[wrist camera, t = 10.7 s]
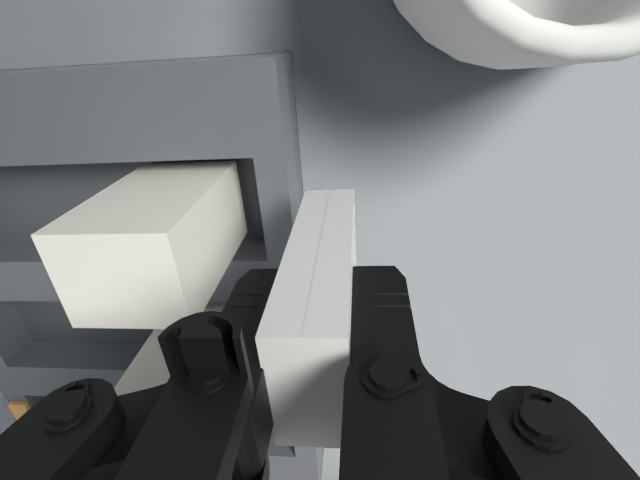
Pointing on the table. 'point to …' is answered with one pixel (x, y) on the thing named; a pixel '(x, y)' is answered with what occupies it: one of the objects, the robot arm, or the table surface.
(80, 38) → the table surface
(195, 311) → the white rectangular block
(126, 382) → the white cuboid
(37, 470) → the robot arm
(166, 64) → the switch board
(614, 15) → the mug
